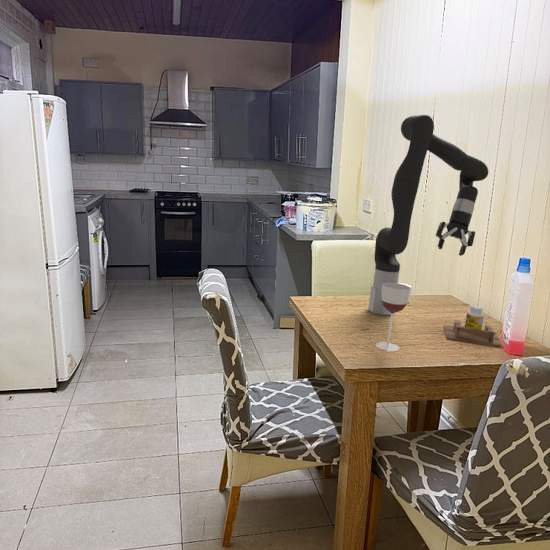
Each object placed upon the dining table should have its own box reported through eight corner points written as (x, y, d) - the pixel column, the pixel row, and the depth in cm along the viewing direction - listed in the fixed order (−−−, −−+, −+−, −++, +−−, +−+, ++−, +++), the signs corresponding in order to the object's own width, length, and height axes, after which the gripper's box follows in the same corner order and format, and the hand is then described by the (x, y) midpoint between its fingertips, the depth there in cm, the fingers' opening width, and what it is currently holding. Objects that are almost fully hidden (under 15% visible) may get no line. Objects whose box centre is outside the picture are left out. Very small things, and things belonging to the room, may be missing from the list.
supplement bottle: (460, 332, 180) (464, 305, 178) (471, 331, 182) (476, 304, 180) (472, 338, 175) (477, 309, 173) (483, 336, 178) (488, 308, 175)
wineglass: (395, 353, 156) (404, 291, 152) (369, 345, 161) (377, 284, 157) (405, 347, 163) (414, 287, 158) (380, 339, 168) (388, 281, 163)
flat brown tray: (443, 327, 187) (445, 316, 187) (495, 334, 184) (497, 323, 183) (446, 339, 174) (448, 327, 173) (502, 347, 170) (504, 335, 169)
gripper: (449, 205, 193) (436, 246, 193) (483, 216, 194) (471, 257, 194) (441, 208, 201) (429, 247, 201) (474, 218, 202) (463, 257, 202)
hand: (450, 252), depth 197 cm, fingers open, 8 cm apart
